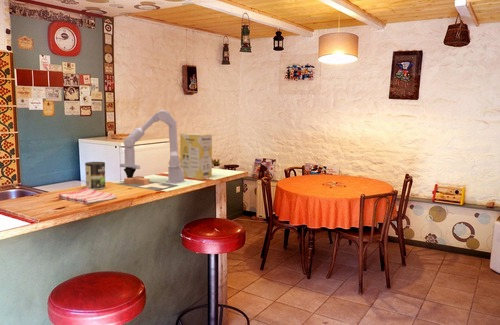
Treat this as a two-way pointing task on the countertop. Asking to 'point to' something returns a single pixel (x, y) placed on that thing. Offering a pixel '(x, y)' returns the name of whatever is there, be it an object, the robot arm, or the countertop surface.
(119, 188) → the countertop surface
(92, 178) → the coffee can
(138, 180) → the t block
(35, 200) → the countertop surface
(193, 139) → the pasta box
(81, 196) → the dish towel
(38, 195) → the countertop surface
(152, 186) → the slate mat
